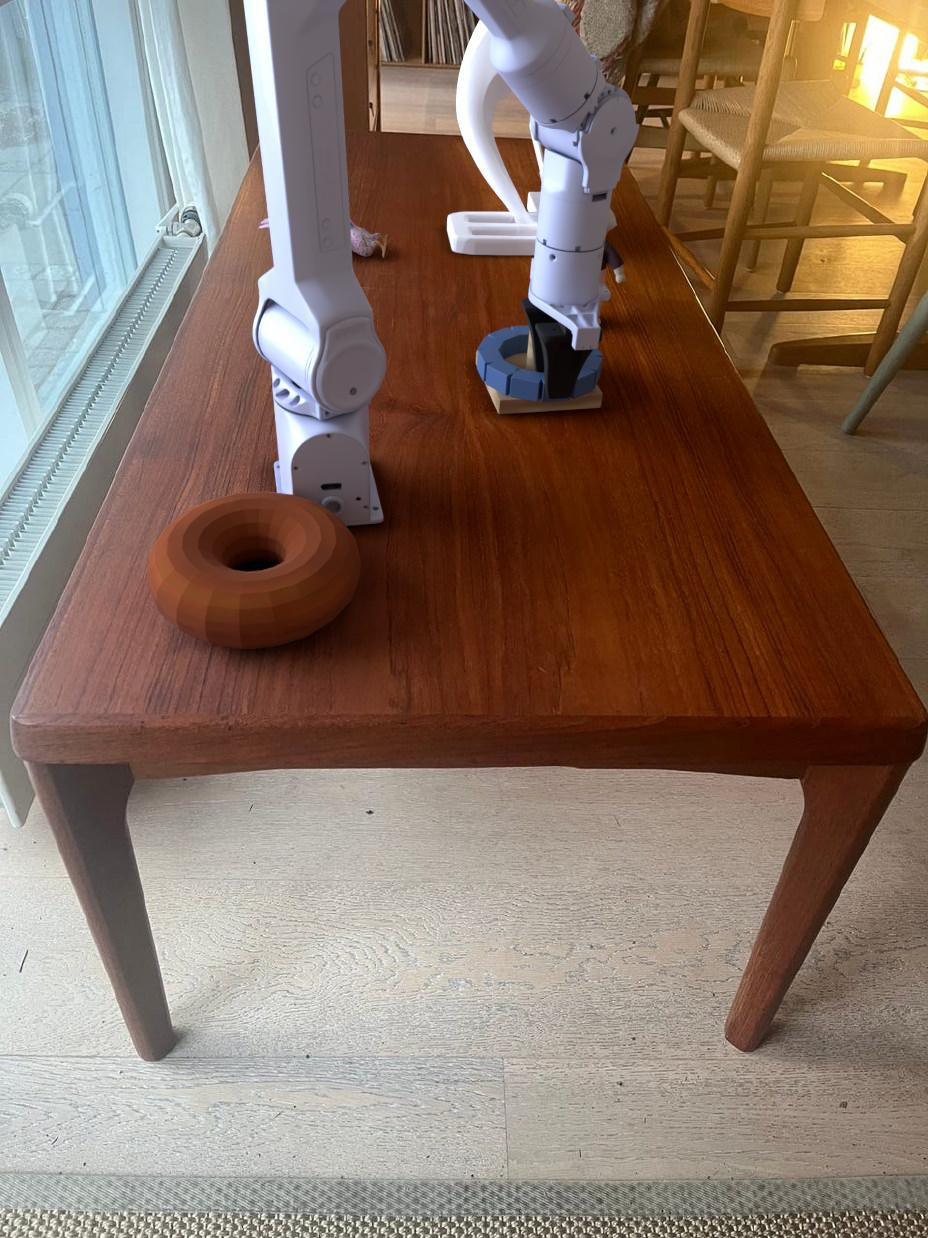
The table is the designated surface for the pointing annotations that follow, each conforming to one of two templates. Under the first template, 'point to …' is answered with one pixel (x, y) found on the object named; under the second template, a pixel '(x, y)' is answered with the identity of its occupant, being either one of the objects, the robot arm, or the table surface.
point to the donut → (257, 600)
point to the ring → (521, 380)
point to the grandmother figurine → (611, 260)
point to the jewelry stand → (490, 162)
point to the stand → (517, 405)
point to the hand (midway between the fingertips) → (552, 386)
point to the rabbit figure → (356, 239)
